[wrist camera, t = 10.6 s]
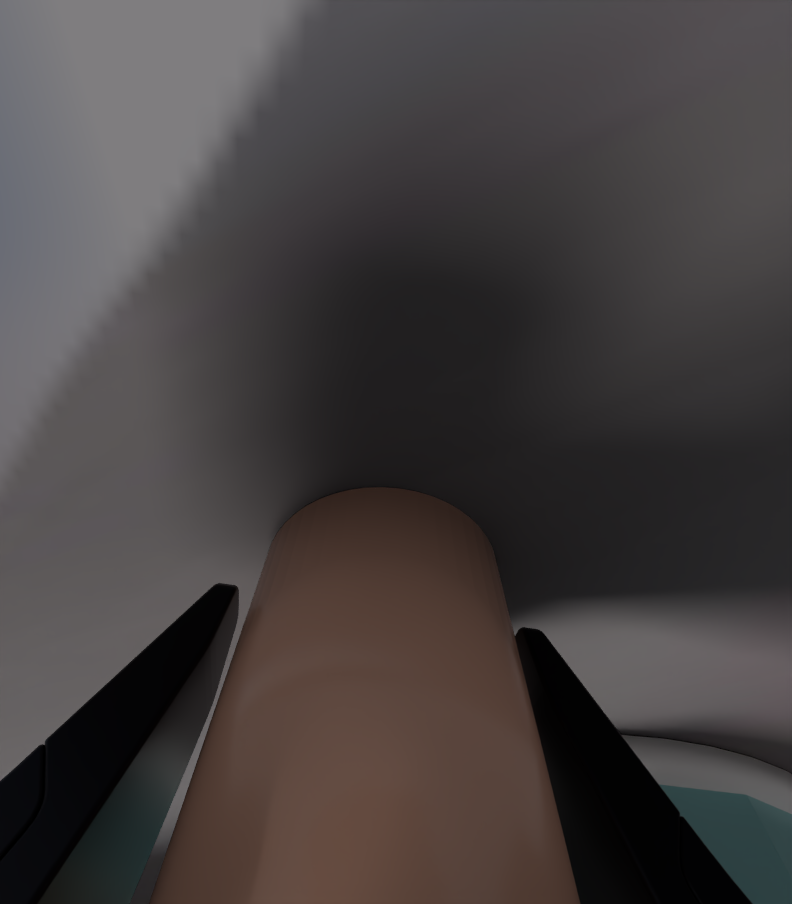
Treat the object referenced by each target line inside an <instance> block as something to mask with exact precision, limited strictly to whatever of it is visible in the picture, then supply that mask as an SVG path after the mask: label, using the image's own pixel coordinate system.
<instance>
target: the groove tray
mask: <svg viewBox="0 0 792 904" xmlns="http://www.w3.org/2000/svg"><path fill="white" fill-rule="evenodd" d="M622 737H623V738H624V739H625V741H626V742H627V743H628V745H629V746H630V747H631V748H632V750H633V751H634V752H635V754H636V755H637V756H638V758H639V759H640V760H641V762H642V763H643V764H644V766H645V767H646V768H647V769H648V771H649V772H650V773H651V775H652V776H653V777H654V779H655V780H656V781H657V783H658V784H659V785H660V787H661V788H662V789H663V790H664V792H665V793H666V794H667V796H668V797H669V798H670V800H671V801H672V802H673V804H674V805H675V806H676V808H677V809H678V810H679V812H680V816H683V817H684V818H685V819H686V820H687V822H688V823H689V824H690V826H691V827H692V828H693V830H694V831H695V832H696V833H697V835H698V836H699V837H700V839H701V840H702V841H703V843H704V844H705V845H706V846H707V848H708V849H709V850H710V852H711V853H712V854H713V855H714V857H715V858H716V859H717V860H718V862H719V863H720V864H721V865H722V867H723V868H724V869H725V871H726V872H727V873H728V874H729V876H730V877H731V878H732V879H733V881H734V882H735V883H736V884H737V885H738V887H739V888H740V889H741V890H742V891H743V893H744V894H745V895H746V896H747V897H748V899H749V900H750V901H751V902H752V903H753V904H792V774H791V773H789V772H787V771H785V770H783V769H781V768H778V767H776V766H773V765H771V764H768V763H765V762H763V761H760V760H758V759H755V758H753V757H749V756H746V755H742V754H738V753H734V752H730V751H727V750H723V749H719V748H715V747H711V746H705V745H699V744H694V743H688V742H682V741H676V740H670V739H662V738H651V737H639V736H628V735H622Z"/></svg>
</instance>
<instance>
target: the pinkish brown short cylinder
mask: <svg viewBox="0 0 792 904" xmlns="http://www.w3.org/2000/svg"><path fill="white" fill-rule="evenodd" d="M149 904H580V900H579V896H578V892H577V888H576V884H575V879H574V875H573V871H572V867H571V863H570V859H569V855H568V851H567V847H566V843H565V839H564V835H563V831H562V827H561V823H560V818H559V814H558V810H557V806H556V802H555V798H554V794H553V790H552V786H551V782H550V778H549V774H548V770H547V766H546V761H545V757H544V753H543V749H542V745H541V741H540V737H539V733H538V729H537V725H536V721H535V717H534V713H533V709H532V704H531V700H530V696H529V692H528V688H527V684H526V680H525V676H524V672H523V668H522V664H521V660H520V656H519V652H518V647H517V643H516V639H515V635H514V631H513V627H512V623H511V619H510V615H509V611H508V607H507V603H506V599H505V595H504V591H503V586H502V582H501V578H500V574H499V570H498V566H497V562H496V558H495V554H494V551H493V548H492V546H491V544H490V542H489V540H488V538H487V537H486V535H485V534H484V532H483V531H482V529H481V528H480V527H479V526H478V525H477V524H476V523H475V522H474V521H473V520H472V519H471V518H470V517H468V516H467V515H466V514H465V513H463V512H462V511H461V510H459V509H457V508H456V507H454V506H452V505H451V504H449V503H447V502H445V501H442V500H440V499H438V498H435V497H433V496H430V495H427V494H423V493H420V492H416V491H411V490H406V489H400V488H388V487H370V488H360V489H352V490H347V491H343V492H339V493H335V494H332V495H329V496H326V497H324V498H321V499H318V500H317V501H315V502H313V503H311V504H309V505H307V506H305V507H304V508H302V509H301V510H300V511H298V512H297V513H295V514H294V515H293V516H292V517H291V518H290V519H289V520H288V521H287V522H285V523H284V525H283V526H282V527H281V529H280V530H279V531H278V532H277V534H276V536H275V538H274V540H273V542H272V543H271V546H270V549H269V552H268V555H267V558H266V561H265V564H264V567H263V569H262V572H261V575H260V578H259V581H258V584H257V587H256V590H255V593H254V596H253V599H252V602H251V605H250V608H249V611H248V614H247V617H246V620H245V622H244V625H243V628H242V631H241V634H240V637H239V640H238V643H237V646H236V649H235V652H234V655H233V658H232V661H231V664H230V667H229V670H228V672H227V675H226V678H225V681H224V684H223V687H222V690H221V693H220V696H219V699H218V702H217V705H216V708H215V711H214V714H213V717H212V720H211V722H210V725H209V728H208V731H207V734H206V737H205V740H204V743H203V746H202V749H201V752H200V755H199V758H198V761H197V764H196V767H195V770H194V773H193V775H192V778H191V781H190V784H189V787H188V790H187V793H186V796H185V799H184V802H183V805H182V808H181V811H180V814H179V817H178V820H177V823H176V825H175V828H174V831H173V834H172V837H171V840H170V843H169V846H168V849H167V852H166V855H165V858H164V861H163V864H162V867H161V870H160V873H159V875H158V878H157V881H156V884H155V887H154V890H153V893H152V896H151V899H150V902H149Z"/></svg>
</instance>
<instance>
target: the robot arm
mask: <svg viewBox="0 0 792 904" xmlns="http://www.w3.org/2000/svg"><path fill="white" fill-rule="evenodd" d="M238 608H239V590H238V587H237V586H235V585H229V584H222V583H218V584H215V585H214V586H213V587H212V588H211V589H209V590H208V591H207V592H206V593H205V594H204V595H203V596H202V597H201V598H200V599H199V600H197V601H196V602H195V603H194V604H193V605H192V606H191V607H190V608H189V609H188V610H187V611H186V612H184V613H183V614H182V615H181V616H180V617H179V618H178V619H177V620H176V621H175V622H174V623H172V624H171V625H170V626H169V627H168V628H167V629H166V630H165V631H164V632H163V633H162V634H160V635H159V636H158V637H157V638H156V639H155V640H154V641H153V642H152V643H151V644H150V645H149V646H147V647H146V648H145V649H144V650H143V651H142V652H141V653H140V654H139V655H138V656H137V657H135V658H134V659H133V660H132V661H131V662H130V663H129V664H128V665H127V666H126V667H125V668H123V669H122V670H121V671H120V672H119V673H118V674H117V675H116V676H115V677H114V678H113V679H112V680H110V681H109V682H108V683H107V684H106V685H105V686H104V687H103V688H102V689H101V690H100V691H98V692H97V693H96V694H95V695H94V696H93V697H92V698H91V699H90V700H89V701H88V702H86V703H85V704H84V705H83V706H82V707H81V708H80V709H79V710H78V711H77V712H76V713H75V714H73V715H72V716H71V717H70V718H69V719H68V720H67V721H66V722H65V723H64V724H63V725H61V726H60V727H59V728H58V729H57V730H56V731H55V732H54V733H53V734H52V735H51V736H49V737H48V738H47V739H46V741H45V745H43V744H42V745H39V746H38V747H37V748H36V749H35V750H34V751H33V752H32V753H31V754H30V755H29V756H27V757H26V758H25V759H24V760H23V761H22V762H21V763H20V764H19V765H18V766H17V767H16V768H14V769H13V770H12V771H11V772H10V773H9V774H8V775H7V776H5V777H4V778H3V779H2V780H1V781H0V904H130V901H131V899H132V896H133V894H134V892H135V889H136V887H137V885H138V882H139V880H140V877H141V875H142V873H143V870H144V868H145V865H146V863H147V861H148V858H149V856H150V853H151V851H152V849H153V846H154V844H155V841H156V839H157V837H158V834H159V832H160V829H161V827H162V825H163V822H164V820H165V817H166V815H167V813H168V810H169V808H170V805H171V803H172V801H173V798H174V796H175V793H176V791H177V789H178V786H179V784H180V782H181V779H182V777H183V774H184V772H185V770H186V767H187V765H188V762H189V760H190V758H191V755H192V753H193V750H194V748H195V746H196V743H197V741H198V738H199V736H200V734H201V731H202V729H203V726H204V724H205V722H206V719H207V717H208V714H209V712H210V709H211V706H212V704H213V701H214V698H215V695H216V691H217V688H218V685H219V681H220V678H221V675H222V671H223V668H224V665H225V661H226V658H227V654H228V651H229V648H230V644H231V641H232V637H233V634H234V631H235V627H236V624H237V619H238ZM515 639H516V643H517V647H518V652H519V656H520V660H521V664H522V668H523V672H524V676H525V680H526V684H527V688H528V692H529V696H530V700H531V704H532V709H533V713H534V717H535V721H536V725H537V729H538V733H539V737H540V741H541V745H542V749H543V753H544V757H545V761H546V766H547V770H548V774H549V778H550V782H551V786H552V790H553V794H554V798H555V802H556V806H557V810H558V814H559V818H560V823H561V827H562V831H563V835H564V839H565V843H566V847H567V851H568V855H569V859H570V863H571V867H572V871H573V875H574V879H575V884H576V888H577V892H578V896H579V900H580V904H753V903H752V902H751V901H750V900H749V899H748V897H747V896H746V895H745V894H744V893H743V891H742V890H741V889H740V888H739V887H738V885H737V884H736V883H735V882H734V881H733V879H732V878H731V877H730V876H729V874H728V873H727V872H726V871H725V869H724V868H723V867H722V865H721V864H720V863H719V862H718V860H717V859H716V858H715V857H714V855H713V854H712V853H711V852H710V850H709V849H708V848H707V846H706V845H705V844H704V843H703V841H702V840H701V839H700V837H699V836H698V835H697V833H696V832H695V831H694V830H693V828H692V827H691V826H690V824H689V823H688V822H687V820H686V819H685V818H684V817H683V816H680V812H679V810H678V809H677V808H676V806H675V805H674V804H673V802H672V801H671V800H670V798H669V797H668V796H667V794H666V793H665V792H664V790H663V789H662V788H661V787H660V785H659V784H658V783H657V781H656V780H655V779H654V777H653V776H652V775H651V773H650V772H649V771H648V769H647V768H646V767H645V766H644V764H643V763H642V762H641V760H640V759H639V758H638V756H637V755H636V754H635V752H634V751H633V750H632V748H631V747H630V746H629V745H628V743H627V742H626V741H625V739H624V738H623V737H622V735H621V734H620V733H619V731H618V730H617V729H616V728H615V726H614V725H613V724H612V722H611V721H610V720H609V718H608V717H607V716H606V714H605V713H604V712H603V710H602V709H601V708H600V707H599V705H598V704H597V703H596V701H595V700H594V699H593V697H592V696H591V695H590V693H589V692H588V691H587V689H586V688H585V687H584V686H583V684H582V683H581V682H580V680H579V679H578V678H577V676H576V675H575V674H574V672H573V671H572V670H571V668H570V667H569V666H568V665H567V663H566V662H565V661H564V659H563V658H562V657H561V655H560V654H559V653H558V651H557V650H556V649H555V648H554V646H553V645H552V644H551V642H550V641H549V640H548V638H547V637H546V636H545V634H544V633H543V632H542V631H540V630H538V629H532V628H525V627H522V628H520V629H519V630H518V632H517V634H516V636H515Z"/></svg>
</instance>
